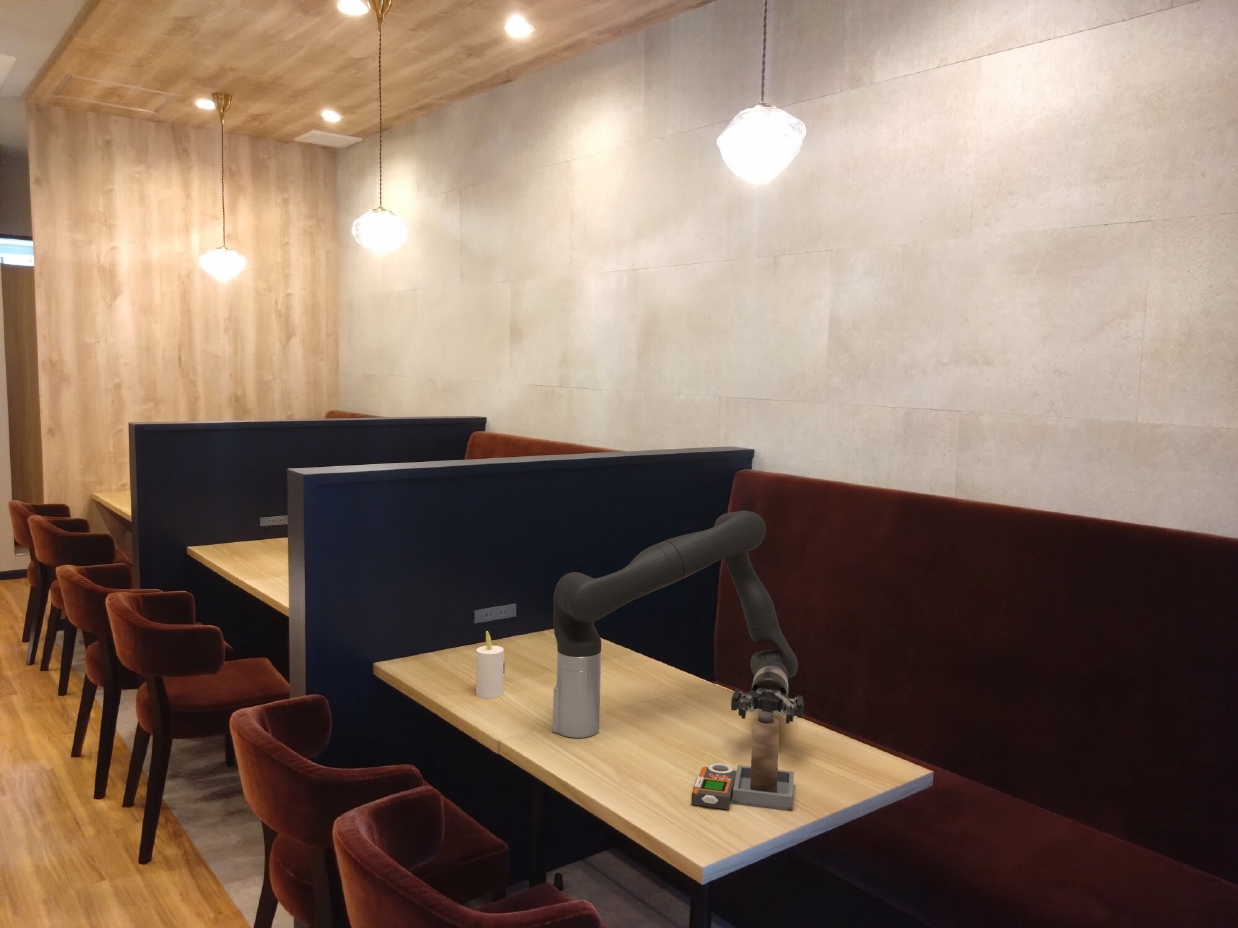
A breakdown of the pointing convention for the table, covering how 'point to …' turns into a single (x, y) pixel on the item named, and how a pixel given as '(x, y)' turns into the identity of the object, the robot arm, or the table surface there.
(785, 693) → the robot arm
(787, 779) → the tray
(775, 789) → the pepper mill
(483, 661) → the candle
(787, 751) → the table surface
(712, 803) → the electronic device
